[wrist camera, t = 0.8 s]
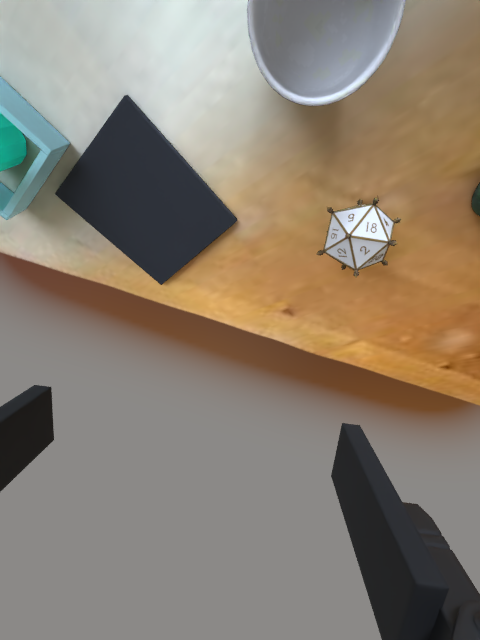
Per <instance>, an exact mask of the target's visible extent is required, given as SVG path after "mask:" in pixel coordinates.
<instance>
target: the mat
mask: <svg viewBox="0 0 480 640" xmlns="http://www.w3.org/2000/svg"><path fill="white" fill-rule="evenodd" d="M55 195H57V196H58V197H59V198H60V199H61V200H62V201H64V202H65V203H66V204H67V205H68V206H69V207H71V208H72V209H73V210H74V211H75V212H76V213H78V214H79V215H80V216H81V217H82V218H83V219H85V220H86V221H87V222H88V223H89V224H90V225H92V226H93V227H94V228H95V229H96V230H97V231H99V232H100V233H101V234H102V235H103V236H104V237H106V238H107V239H108V240H109V241H110V242H112V243H113V244H114V245H115V246H116V247H117V248H119V249H120V250H121V251H122V252H123V253H124V254H126V255H127V256H128V257H129V258H130V259H131V260H133V261H134V262H135V263H136V264H137V265H138V266H140V267H141V268H142V269H143V270H144V271H145V272H147V273H148V274H149V275H150V276H151V277H152V278H154V279H155V280H156V281H157V282H158V283H159V284H161V285H162V284H163V283H164V282H165V281H167V280H168V279H169V278H170V277H171V276H173V275H174V274H175V273H176V272H177V271H178V270H180V269H181V268H182V267H183V266H184V265H186V264H187V263H188V262H189V261H190V260H191V259H193V258H194V257H195V256H196V255H197V254H199V253H200V252H201V251H202V250H203V249H205V248H206V247H207V246H208V245H209V244H210V243H212V242H213V241H214V240H215V239H216V238H218V237H219V236H220V235H221V234H222V233H224V232H225V231H226V230H227V229H228V228H229V227H231V226H232V225H233V224H234V223H235V222H237V218H236V217H235V216H234V215H233V214H232V213H231V211H230V210H229V209H228V208H227V207H226V206H225V205H224V204H223V202H222V201H221V200H220V199H219V198H218V197H217V196H216V195H215V193H214V192H213V191H212V190H211V189H210V188H209V187H208V185H207V184H206V183H205V182H204V181H203V180H202V179H201V178H200V176H199V175H198V174H197V173H196V172H195V171H194V170H193V169H192V167H191V166H190V165H189V164H188V163H187V162H186V161H185V159H184V158H183V157H182V156H181V155H180V154H179V153H178V152H177V150H176V149H175V148H174V147H173V146H172V145H171V144H170V143H169V141H168V140H167V139H166V138H165V137H164V136H163V135H162V134H161V132H160V131H159V130H158V129H157V128H156V127H155V126H154V124H153V123H152V122H151V121H150V120H149V119H148V118H147V117H146V115H145V114H144V113H143V112H142V111H141V110H140V109H139V108H138V106H137V105H136V104H135V103H134V102H133V101H132V100H131V98H130V97H129V96H128V95H126V96H124V97H123V99H122V100H121V102H120V103H119V104H118V106H117V107H116V109H115V110H114V111H113V113H112V114H111V116H110V117H109V118H108V120H107V121H106V123H105V124H104V125H103V127H102V128H101V130H100V131H99V133H98V134H97V135H96V137H95V138H94V140H93V141H92V142H91V144H90V145H89V147H88V148H87V149H86V151H85V152H84V154H83V155H82V157H81V158H80V159H79V161H78V162H77V164H76V165H75V166H74V168H73V169H72V171H71V172H70V173H69V175H68V176H67V178H66V179H65V180H64V182H63V183H62V185H61V186H60V188H59V189H58V190H57V192H56V193H55Z"/></svg>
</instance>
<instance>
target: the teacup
mask: <svg viewBox="0 0 480 640" xmlns="http://www.w3.org/2000/svg"><path fill="white" fill-rule="evenodd" d="M405 1H406V0H248V8H247V13H248V30H249V37H250V42H251V47H252V51H253V54H254V57H255V60H256V62H257V65H258V67H259V69H260V71H261V73H262V75H263V76H264V78H265V79H266V81H267V82H268V83H269V85H270V86H271V87H272V88H273V89H274V90H275V91H276V92H277V93H278V94H280V95H281V96H282V97H284V98H286V99H287V100H289V101H292V102H295V103H298V104H301V105H307V106H321V105H326V104H331V103H334V102H337V101H339V100H342V99H344V98H345V97H347V96H349V95H351V94H352V93H353V92H355V91H356V90H358V89H359V88H360V87H361V86H362V85H363V84H365V83H366V81H367V80H368V79H369V78H370V77H371V76H372V75H373V74H374V73H375V72H376V70H377V69H378V67H379V66H380V65H381V64H382V62H383V61H384V59H385V57H386V56H387V54H388V52H389V51H390V48H391V46H392V44H393V41H394V39H395V37H396V35H397V32H398V30H399V27H400V23H401V20H402V16H403V11H404V7H405Z"/></svg>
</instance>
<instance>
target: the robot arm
mask: <svg viewBox="0 0 480 640" xmlns="http://www.w3.org/2000/svg"><path fill="white" fill-rule="evenodd" d="M52 414H53V413H52V393H51V387H46V386H38V385H34V386H32V387H31V388H29V389H28V390H26V391H25V392H23V393H21V394H20V395H18V396H17V397H15V398H14V399H12V400H10V401H9V402H7V403H6V404H4V405H3V406H1V407H0V491H1V490H3V489H4V488H5V487H6V486H7V485H8V484H9V483H10V482H11V481H12V480H13V479H14V478H15V477H16V476H17V475H18V474H19V473H20V472H21V471H22V470H23V469H24V468H25V467H26V466H27V465H28V464H29V463H31V462H32V461H33V460H34V459H35V458H36V457H37V456H38V455H39V454H40V453H41V452H42V451H43V450H44V449H45V448H46V447H47V446H48V445H49V444H50V443H51V442H52V441H53V440H54V433H53V416H52ZM331 477H332V480H333V483H334V486H335V489H336V493H337V496H338V499H339V503H340V506H341V509H342V512H343V515H344V519H345V521H346V525H347V528H348V532H349V534H350V538H351V541H352V544H353V548H354V551H355V554H356V557H357V561H358V564H359V567H360V570H361V574H362V576H363V580H364V583H365V586H366V589H367V592H368V596H369V599H370V602H371V606H372V609H373V612H374V615H375V619H376V621H377V625H378V628H379V632H380V634H381V638H382V640H480V594H479V593H478V591H477V589H476V588H475V586H474V585H473V583H472V581H471V580H470V578H469V577H468V575H467V574H466V572H465V570H464V569H463V567H462V565H461V564H460V562H459V561H458V559H457V557H456V556H455V554H454V553H453V551H452V550H450V548H449V545H448V543H447V542H446V540H445V539H444V537H443V536H442V535H441V532H440V530H439V529H438V527H437V526H436V524H435V522H434V521H433V520H432V518H431V517H430V516H429V515H428V514H427V513H426V512H425V511H424V510H423V509H422V508H421V507H419V505H418V504H412V503H403V502H402V501H401V499H400V497H399V496H398V494H397V492H396V490H395V489H394V487H393V485H392V483H391V481H390V479H389V477H388V476H387V474H386V472H385V470H384V468H383V467H382V465H381V463H380V461H379V459H378V458H377V456H376V454H375V452H374V450H373V448H372V447H371V445H370V443H369V441H368V439H367V438H366V436H365V434H364V432H363V430H362V429H361V427H360V425H353V424H345V423H342V427H341V431H340V436H339V441H338V446H337V451H336V456H335V460H334V465H333V470H332V475H331Z"/></svg>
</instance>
